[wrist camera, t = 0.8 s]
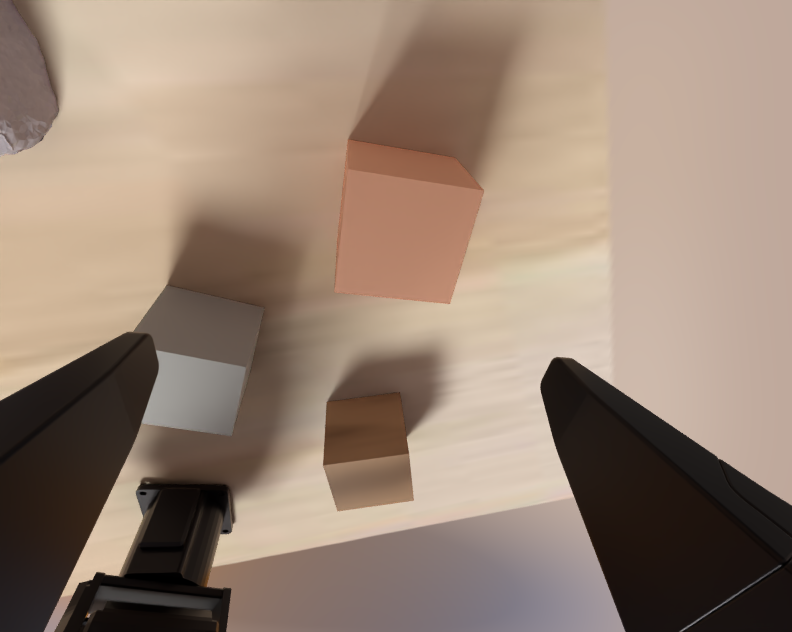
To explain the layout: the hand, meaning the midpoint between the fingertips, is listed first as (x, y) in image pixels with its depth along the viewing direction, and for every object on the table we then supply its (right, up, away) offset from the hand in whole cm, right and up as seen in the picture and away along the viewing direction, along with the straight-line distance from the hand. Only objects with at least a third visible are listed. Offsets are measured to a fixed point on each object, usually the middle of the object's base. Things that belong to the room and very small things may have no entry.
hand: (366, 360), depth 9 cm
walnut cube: (-1, -6, +20) cm, 21 cm away
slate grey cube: (-10, 0, +14) cm, 17 cm away
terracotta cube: (0, +7, +11) cm, 13 cm away
